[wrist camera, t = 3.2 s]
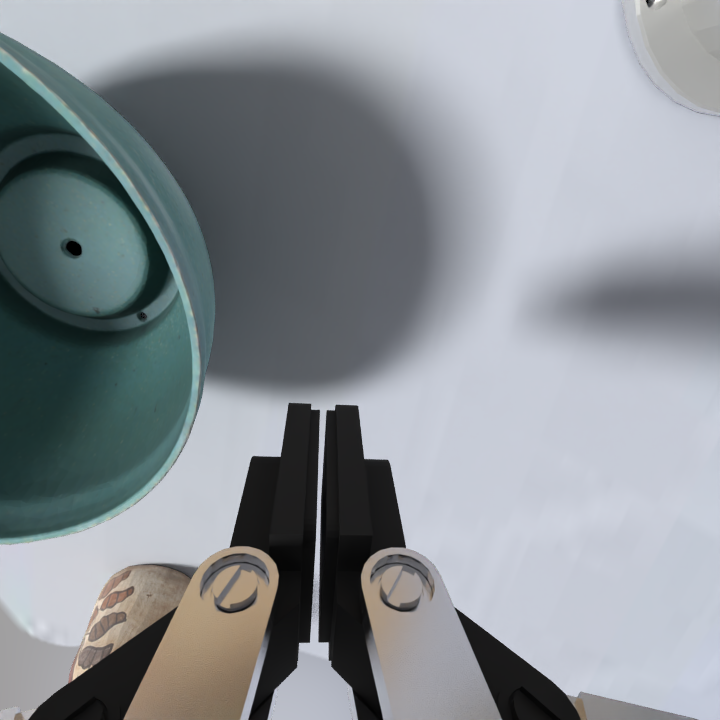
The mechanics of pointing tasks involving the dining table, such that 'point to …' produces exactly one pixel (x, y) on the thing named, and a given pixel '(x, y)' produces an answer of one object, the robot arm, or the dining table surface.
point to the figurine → (128, 610)
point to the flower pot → (90, 306)
